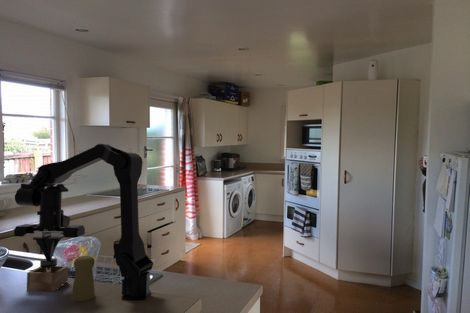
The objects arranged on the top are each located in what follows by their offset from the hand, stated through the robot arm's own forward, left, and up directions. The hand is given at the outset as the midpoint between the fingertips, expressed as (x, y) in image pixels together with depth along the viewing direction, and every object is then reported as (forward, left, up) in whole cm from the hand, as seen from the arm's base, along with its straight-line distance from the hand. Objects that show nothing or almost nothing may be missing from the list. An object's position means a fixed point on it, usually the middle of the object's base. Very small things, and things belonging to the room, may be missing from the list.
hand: (48, 260), depth 109 cm
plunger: (0, 0, -8) cm, 8 cm away
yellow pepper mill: (-14, +8, -8) cm, 18 cm away
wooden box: (0, 0, -8) cm, 8 cm away
